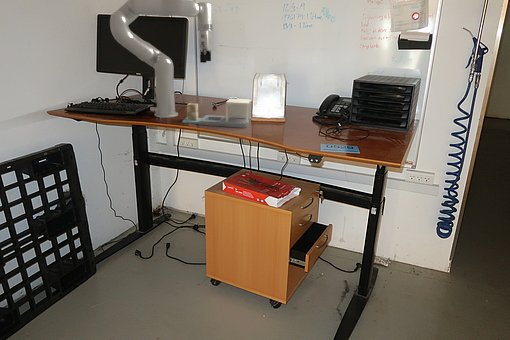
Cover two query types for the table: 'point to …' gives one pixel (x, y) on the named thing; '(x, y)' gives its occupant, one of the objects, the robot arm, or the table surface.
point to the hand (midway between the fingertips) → (205, 61)
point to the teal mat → (190, 121)
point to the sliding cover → (239, 108)
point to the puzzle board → (223, 121)
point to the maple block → (192, 111)
